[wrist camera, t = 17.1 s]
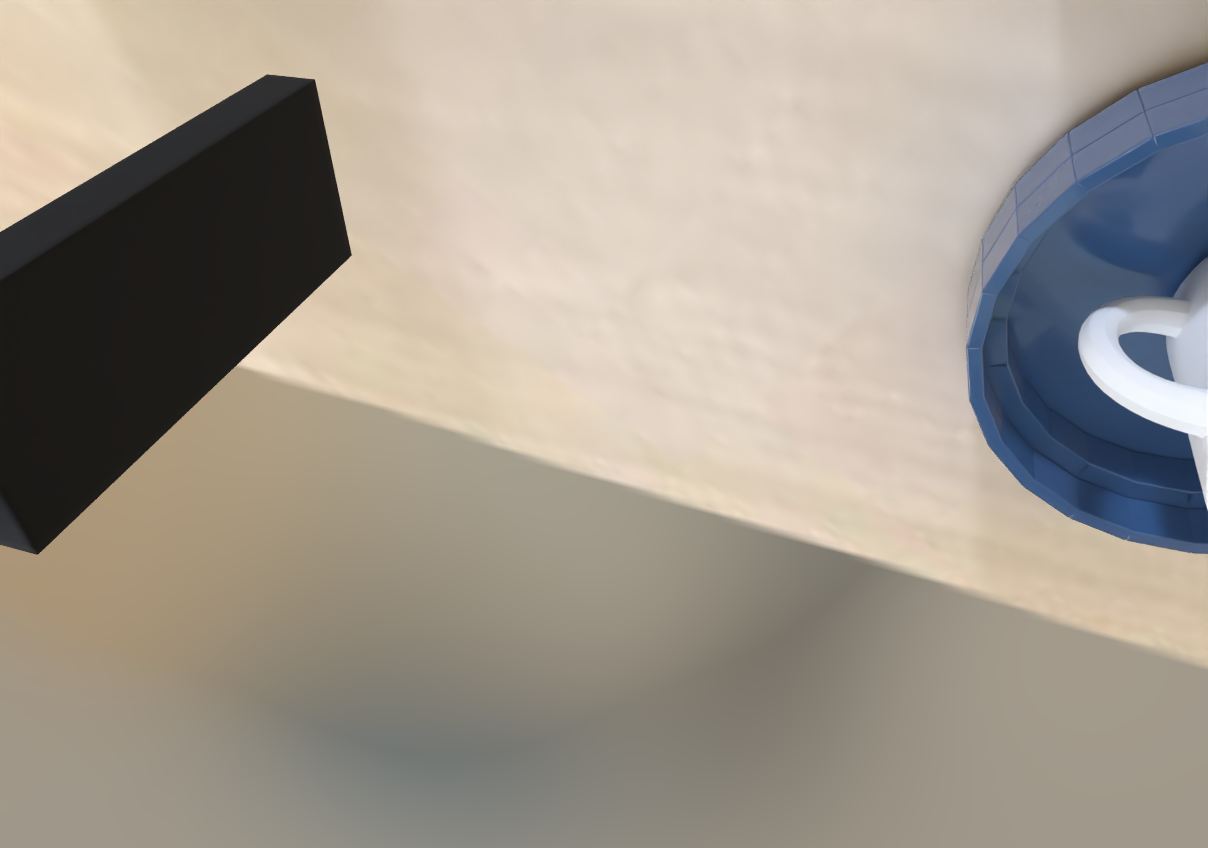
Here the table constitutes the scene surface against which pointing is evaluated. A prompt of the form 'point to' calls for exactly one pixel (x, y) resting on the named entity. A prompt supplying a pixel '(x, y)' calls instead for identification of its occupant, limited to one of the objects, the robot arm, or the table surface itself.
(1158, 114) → the bowl
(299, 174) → the robot arm
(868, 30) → the table surface
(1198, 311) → the mug
